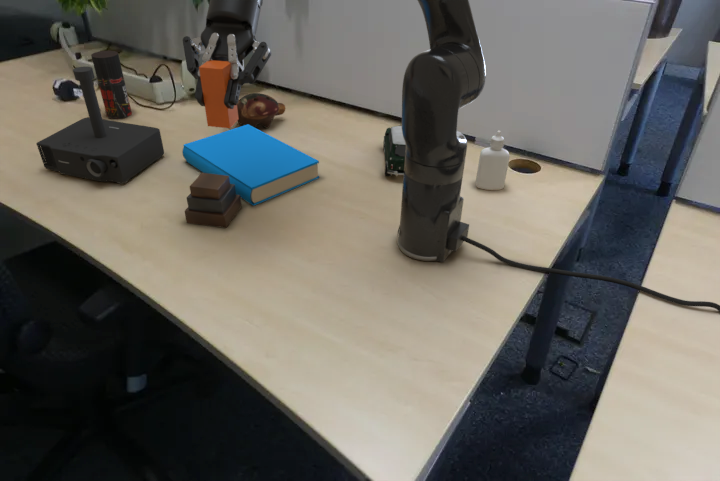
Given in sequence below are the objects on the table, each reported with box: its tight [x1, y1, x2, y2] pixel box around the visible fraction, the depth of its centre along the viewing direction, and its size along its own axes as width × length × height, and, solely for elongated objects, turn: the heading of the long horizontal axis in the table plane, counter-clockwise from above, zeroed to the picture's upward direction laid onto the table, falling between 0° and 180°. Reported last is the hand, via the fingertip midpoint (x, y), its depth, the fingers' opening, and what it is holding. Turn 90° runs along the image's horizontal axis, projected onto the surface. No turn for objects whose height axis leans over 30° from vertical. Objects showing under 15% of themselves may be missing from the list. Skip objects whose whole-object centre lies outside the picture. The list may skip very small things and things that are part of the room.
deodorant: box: [90, 50, 133, 120], centre depth 134 cm, size 6×6×15 cm
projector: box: [36, 66, 165, 184], centre depth 110 cm, size 19×17×20 cm
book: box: [182, 124, 320, 206], centre depth 114 cm, size 17×4×25 cm
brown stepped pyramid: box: [184, 172, 242, 229], centre depth 98 cm, size 8×8×7 cm
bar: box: [199, 60, 239, 129], centre depth 82 cm, size 4×4×9 cm
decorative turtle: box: [237, 92, 286, 129], centre depth 132 cm, size 10×15×8 cm, turn 130°
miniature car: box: [382, 124, 406, 177], centre depth 117 cm, size 9×18×8 cm, turn 0°
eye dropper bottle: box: [475, 130, 511, 191], centre depth 108 cm, size 4×6×12 cm
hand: (215, 104), depth 81 cm, fingers closed on bar, 3 cm apart
